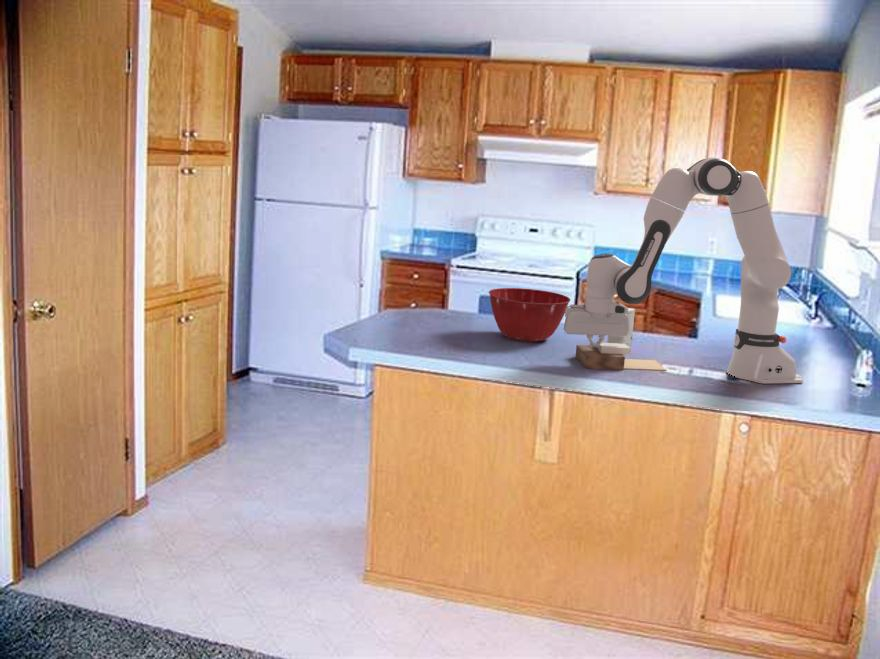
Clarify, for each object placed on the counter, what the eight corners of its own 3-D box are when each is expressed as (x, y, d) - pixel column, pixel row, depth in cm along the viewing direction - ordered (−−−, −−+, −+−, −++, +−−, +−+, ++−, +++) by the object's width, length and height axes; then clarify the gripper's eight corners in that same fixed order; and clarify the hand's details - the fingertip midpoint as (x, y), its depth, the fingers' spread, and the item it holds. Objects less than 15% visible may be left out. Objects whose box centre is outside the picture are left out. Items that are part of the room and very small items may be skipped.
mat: (654, 361, 284) (654, 360, 284) (666, 370, 273) (666, 369, 273) (612, 359, 283) (612, 358, 283) (622, 368, 271) (622, 367, 271)
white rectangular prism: (624, 349, 280) (624, 343, 279) (629, 354, 274) (630, 348, 273) (596, 348, 279) (597, 342, 278) (601, 353, 273) (601, 346, 273)
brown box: (611, 358, 284) (613, 346, 283) (623, 369, 270) (624, 357, 270) (575, 356, 283) (576, 344, 282) (585, 368, 270) (586, 355, 269)
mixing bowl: (564, 332, 319) (568, 291, 316) (568, 350, 291) (572, 305, 288) (487, 326, 322) (490, 285, 318) (483, 343, 294) (486, 298, 291)
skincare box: (622, 355, 289) (626, 311, 286) (605, 352, 292) (609, 308, 289) (631, 351, 296) (636, 308, 293) (614, 348, 299) (619, 305, 296)
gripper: (567, 306, 269) (564, 349, 272) (633, 308, 270) (628, 352, 273) (563, 302, 275) (559, 345, 278) (627, 305, 277) (622, 347, 279)
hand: (594, 348), depth 276 cm, fingers closed
